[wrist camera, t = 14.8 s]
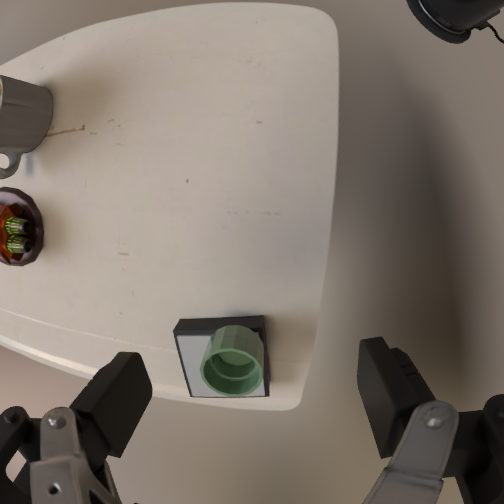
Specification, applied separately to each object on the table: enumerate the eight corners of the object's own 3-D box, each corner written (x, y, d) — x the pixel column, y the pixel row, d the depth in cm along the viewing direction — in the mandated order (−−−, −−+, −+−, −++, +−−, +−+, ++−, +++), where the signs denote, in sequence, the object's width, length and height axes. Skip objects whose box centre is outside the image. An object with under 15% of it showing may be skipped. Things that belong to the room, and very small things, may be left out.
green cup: (261, 321, 29) (260, 346, 24) (265, 366, 31) (265, 395, 26) (205, 324, 30) (194, 349, 25) (214, 368, 31) (206, 396, 26)
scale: (263, 315, 33) (262, 329, 30) (269, 381, 35) (269, 398, 32) (179, 319, 34) (171, 332, 30) (195, 383, 36) (189, 399, 33)
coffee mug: (18, 91, 27) (-27, 82, 17) (59, 82, 27) (11, 66, 17) (4, 175, 30) (-43, 180, 21) (43, 177, 30) (-10, 182, 20)
